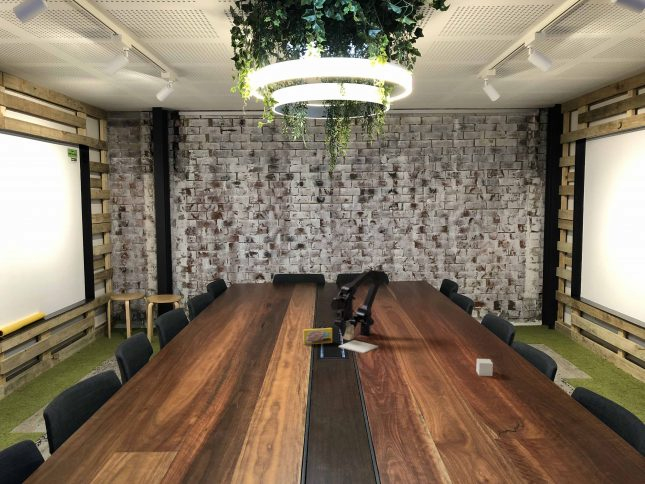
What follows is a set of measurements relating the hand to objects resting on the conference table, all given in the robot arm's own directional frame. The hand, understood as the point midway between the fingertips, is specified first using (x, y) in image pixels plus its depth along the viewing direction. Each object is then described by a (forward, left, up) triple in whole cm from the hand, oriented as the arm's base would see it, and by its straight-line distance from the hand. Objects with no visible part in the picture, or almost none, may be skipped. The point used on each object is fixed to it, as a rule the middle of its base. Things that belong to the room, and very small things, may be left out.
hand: (347, 334), depth 284 cm
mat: (+9, +14, -2) cm, 17 cm away
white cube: (+3, +81, -2) cm, 81 cm away
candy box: (+18, -7, -2) cm, 19 cm away
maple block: (0, 0, -2) cm, 2 cm away
